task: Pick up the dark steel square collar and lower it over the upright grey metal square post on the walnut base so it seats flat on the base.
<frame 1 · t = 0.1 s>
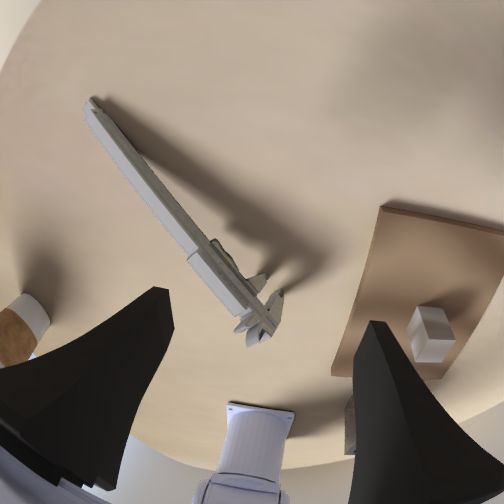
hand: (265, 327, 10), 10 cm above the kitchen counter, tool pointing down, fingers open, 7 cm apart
post base: (420, 306, 21), on the kitchen counter
caliper: (182, 195, 20), on the kitchen counter
coffee cup: (36, 309, 32), on the kitchen counter
steel collar: (372, 398, 27), on the kitchen counter
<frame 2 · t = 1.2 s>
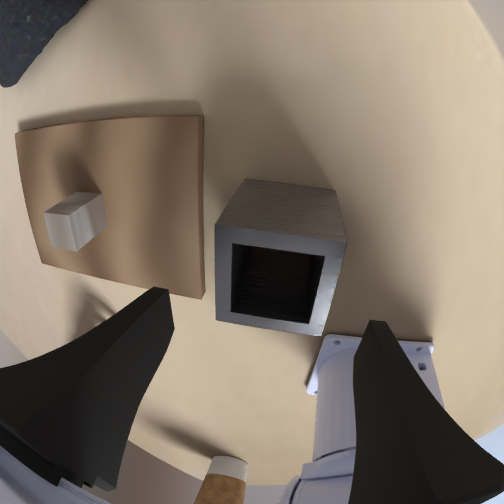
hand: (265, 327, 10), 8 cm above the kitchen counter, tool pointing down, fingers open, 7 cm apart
post base: (103, 200, 19), on the kitchen counter
coffee cup: (230, 460, 40), on the kitchen counter
steel collar: (285, 224, 17), on the kitchen counter
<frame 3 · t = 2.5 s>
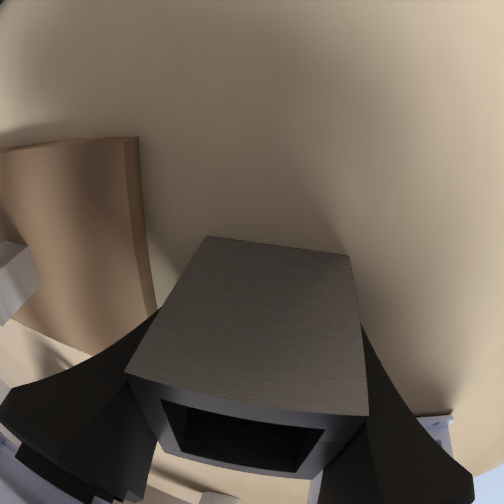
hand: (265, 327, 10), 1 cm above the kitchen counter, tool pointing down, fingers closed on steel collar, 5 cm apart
post base: (39, 248, 14), on the kitchen counter
coffee cup: (221, 495, 34), on the kitchen counter
steel collar: (270, 301, 11), on the kitchen counter, touching gripper
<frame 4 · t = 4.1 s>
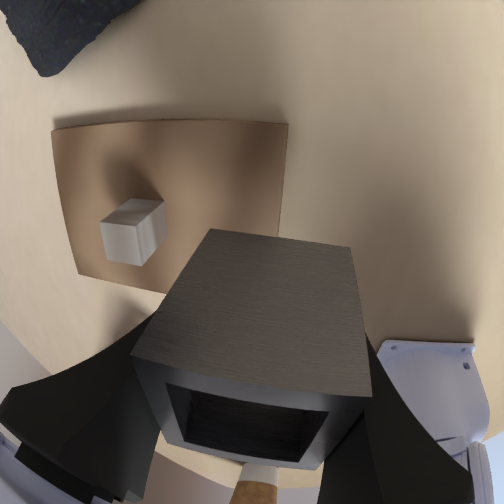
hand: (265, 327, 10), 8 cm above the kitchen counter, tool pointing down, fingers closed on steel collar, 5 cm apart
post base: (159, 208, 19), on the kitchen counter
coffee cup: (261, 466, 40), on the kitchen counter
steel collar: (272, 293, 12), point 7 cm above the kitchen counter, touching gripper
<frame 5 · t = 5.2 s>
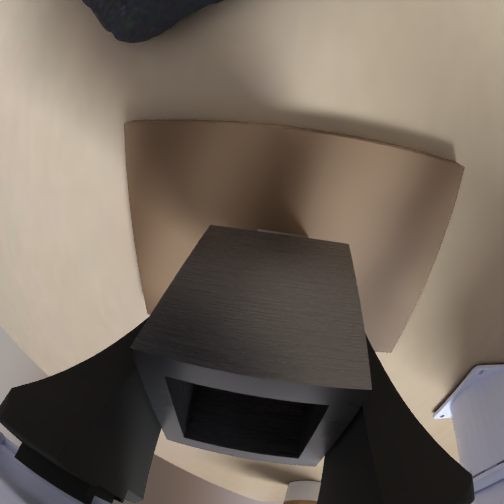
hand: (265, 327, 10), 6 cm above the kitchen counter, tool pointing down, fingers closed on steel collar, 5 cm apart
post base: (282, 240, 16), on the kitchen counter
coffee cup: (306, 483, 37), on the kitchen counter
steel collar: (272, 290, 12), point 4 cm above the kitchen counter, touching gripper
when the fingers open (4 cm above the kitchen counter, at t = 6.0 s): steel collar drops 2 cm, resting on post base.
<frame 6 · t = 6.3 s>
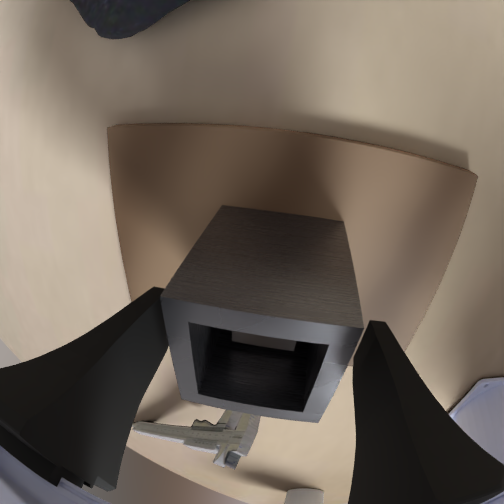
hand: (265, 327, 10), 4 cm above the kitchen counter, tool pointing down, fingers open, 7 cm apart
post base: (279, 253, 15), on the kitchen counter, touching steel collar
caliper: (182, 412, 25), on the kitchen counter
coffee cup: (305, 490, 35), on the kitchen counter
steel collar: (276, 264, 13), point 1 cm above the kitchen counter, touching post base
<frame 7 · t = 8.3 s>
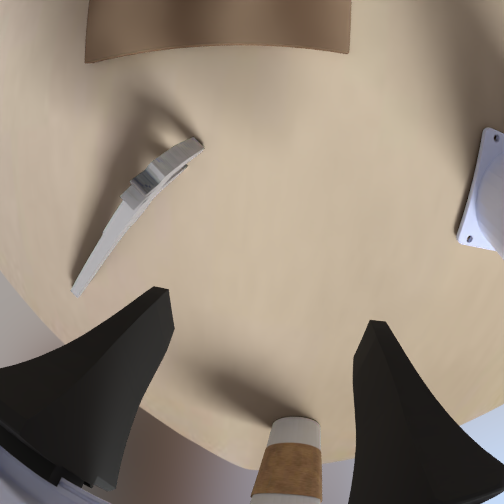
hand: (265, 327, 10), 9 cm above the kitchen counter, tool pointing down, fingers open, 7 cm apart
caliper: (120, 233, 22), on the kitchen counter
coffee cup: (296, 425, 32), on the kitchen counter
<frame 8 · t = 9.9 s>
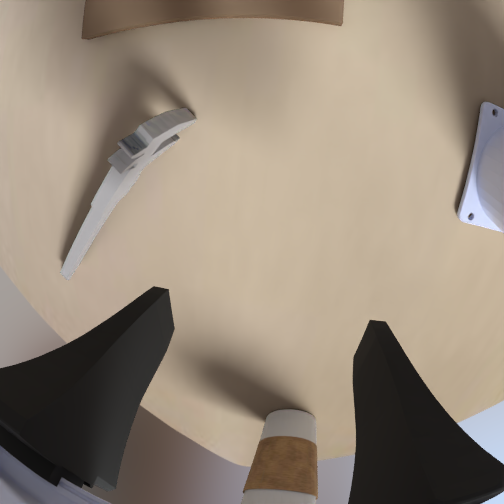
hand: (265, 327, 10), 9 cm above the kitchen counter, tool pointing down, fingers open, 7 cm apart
caliper: (111, 210, 21), on the kitchen counter
coffee cup: (291, 419, 31), on the kitchen counter
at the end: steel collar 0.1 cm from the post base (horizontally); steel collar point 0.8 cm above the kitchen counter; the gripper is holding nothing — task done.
